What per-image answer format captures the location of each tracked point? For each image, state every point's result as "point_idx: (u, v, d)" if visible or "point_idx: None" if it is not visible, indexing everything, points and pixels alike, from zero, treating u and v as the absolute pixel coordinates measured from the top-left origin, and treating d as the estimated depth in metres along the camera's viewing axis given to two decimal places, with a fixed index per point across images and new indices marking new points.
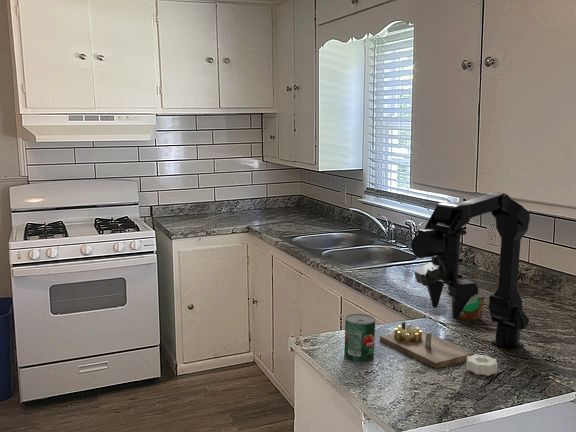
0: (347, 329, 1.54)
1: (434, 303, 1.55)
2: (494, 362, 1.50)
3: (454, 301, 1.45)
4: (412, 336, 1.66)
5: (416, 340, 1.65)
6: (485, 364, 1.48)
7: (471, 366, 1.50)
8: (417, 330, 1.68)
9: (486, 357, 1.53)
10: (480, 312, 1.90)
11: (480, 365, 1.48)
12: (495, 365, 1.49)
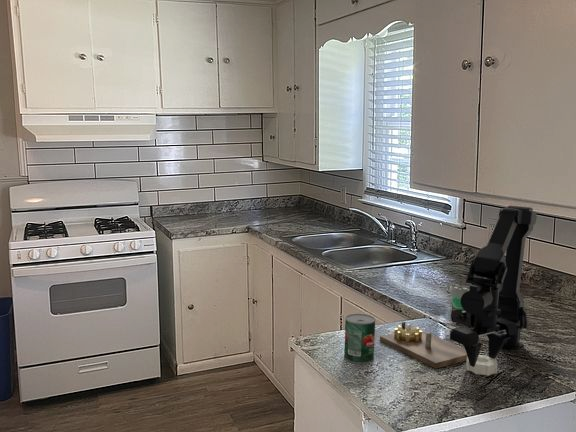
0: (347, 329, 1.54)
1: (489, 356, 1.53)
2: (494, 362, 1.50)
3: None
4: (412, 336, 1.66)
5: (416, 340, 1.65)
6: (485, 364, 1.48)
7: (471, 366, 1.50)
8: (417, 330, 1.68)
9: (486, 357, 1.53)
10: None
11: (480, 365, 1.48)
12: (495, 365, 1.49)
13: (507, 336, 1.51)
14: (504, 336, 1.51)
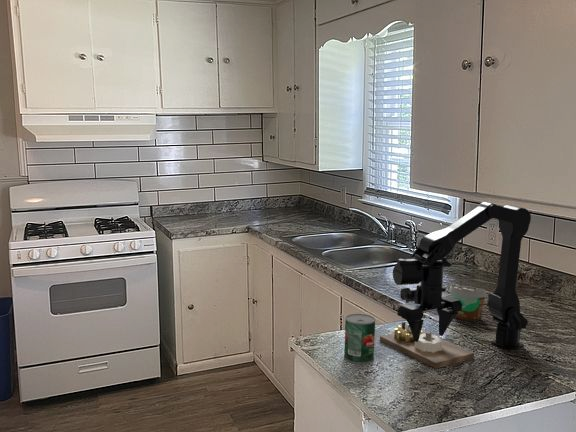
0: (347, 329, 1.54)
1: (439, 331, 1.64)
2: (440, 340, 1.60)
3: None
4: (412, 336, 1.66)
5: None
6: (431, 342, 1.59)
7: (418, 344, 1.60)
8: None
9: (433, 336, 1.63)
10: (480, 312, 1.90)
11: (426, 343, 1.59)
12: (440, 343, 1.59)
13: (455, 312, 1.62)
14: (452, 312, 1.62)
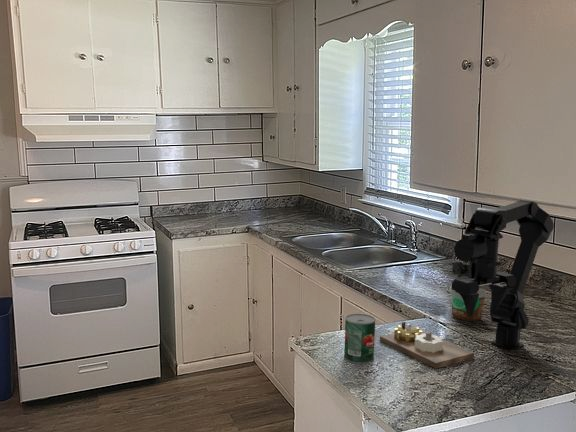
0: (347, 329, 1.54)
1: (492, 306, 1.60)
2: (440, 340, 1.60)
3: None
4: (412, 336, 1.66)
5: None
6: (431, 342, 1.59)
7: (418, 344, 1.60)
8: (417, 330, 1.68)
9: (433, 336, 1.63)
10: (480, 312, 1.90)
11: (426, 343, 1.59)
12: (440, 343, 1.59)
13: (509, 287, 1.58)
14: (506, 287, 1.58)
